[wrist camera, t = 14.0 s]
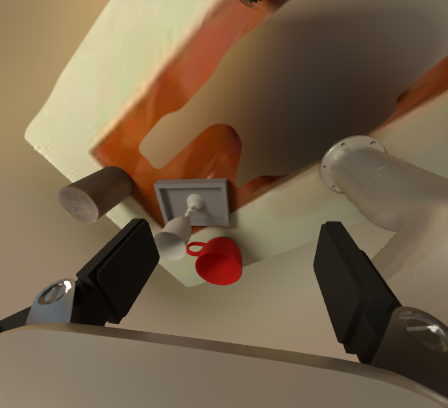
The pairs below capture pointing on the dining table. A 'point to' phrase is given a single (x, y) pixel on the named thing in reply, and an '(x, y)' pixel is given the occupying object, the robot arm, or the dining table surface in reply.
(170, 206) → the tray
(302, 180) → the dining table surface
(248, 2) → the skull
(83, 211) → the pillar candle
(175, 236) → the chalice
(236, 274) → the ceramic cup
